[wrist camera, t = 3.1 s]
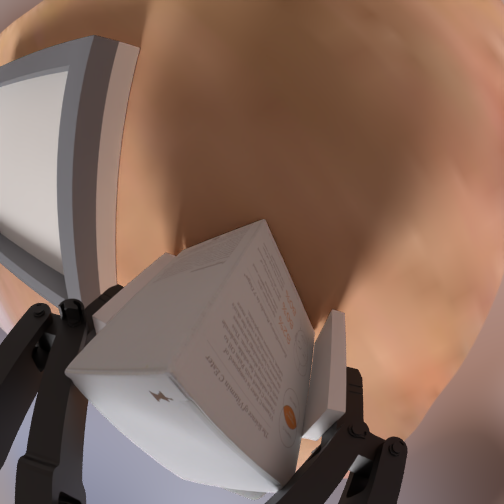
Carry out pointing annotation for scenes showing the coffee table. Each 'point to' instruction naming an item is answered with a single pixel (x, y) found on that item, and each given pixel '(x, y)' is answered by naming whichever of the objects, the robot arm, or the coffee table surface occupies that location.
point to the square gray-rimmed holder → (63, 165)
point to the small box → (209, 364)
